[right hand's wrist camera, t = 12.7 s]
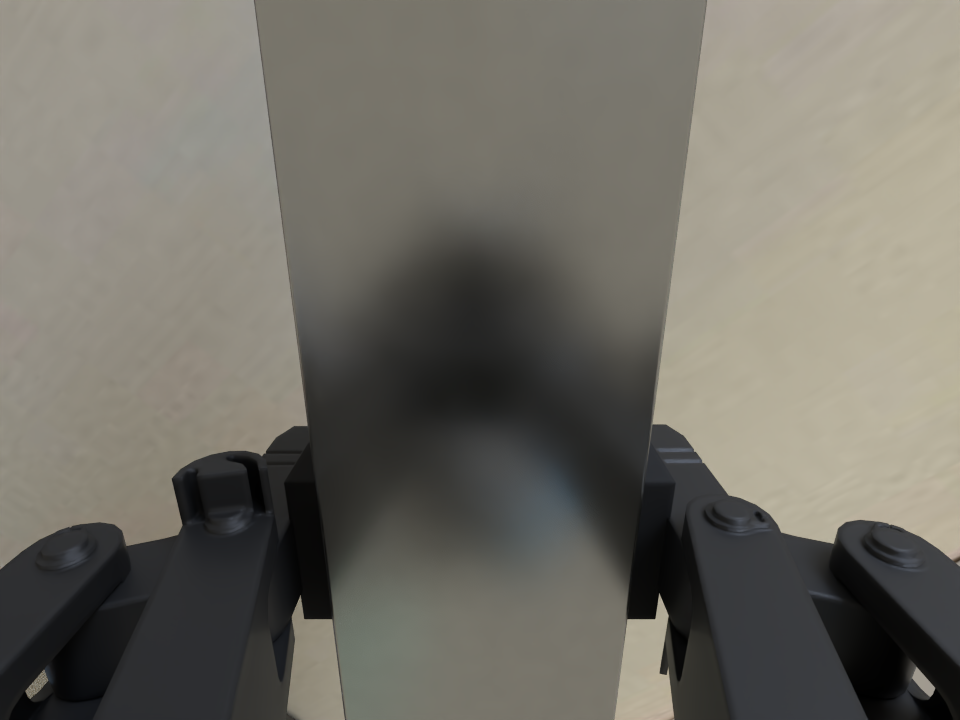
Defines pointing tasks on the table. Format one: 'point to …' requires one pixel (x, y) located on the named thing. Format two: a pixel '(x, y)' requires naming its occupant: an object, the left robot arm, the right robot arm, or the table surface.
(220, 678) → the right robot arm
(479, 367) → the bar
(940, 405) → the table surface
